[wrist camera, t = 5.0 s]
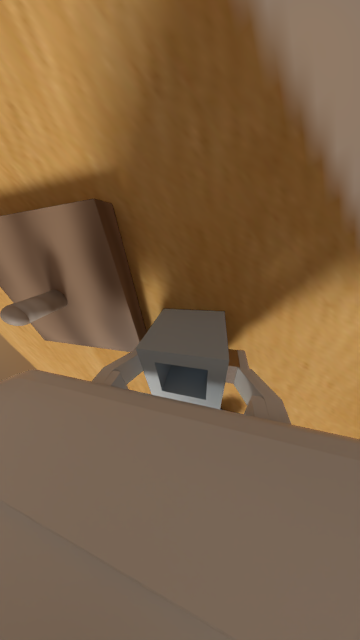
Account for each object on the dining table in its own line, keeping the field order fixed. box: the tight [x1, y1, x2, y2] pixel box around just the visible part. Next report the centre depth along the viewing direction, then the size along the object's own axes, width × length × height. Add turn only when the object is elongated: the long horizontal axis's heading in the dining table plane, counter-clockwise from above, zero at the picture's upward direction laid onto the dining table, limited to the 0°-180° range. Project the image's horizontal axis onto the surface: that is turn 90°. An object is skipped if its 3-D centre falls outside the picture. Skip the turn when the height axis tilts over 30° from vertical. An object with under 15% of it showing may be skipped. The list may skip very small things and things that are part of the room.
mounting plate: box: [0, 199, 146, 352], centre depth 11 cm, size 14×12×5 cm
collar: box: [136, 309, 229, 409], centre depth 10 cm, size 5×5×5 cm
